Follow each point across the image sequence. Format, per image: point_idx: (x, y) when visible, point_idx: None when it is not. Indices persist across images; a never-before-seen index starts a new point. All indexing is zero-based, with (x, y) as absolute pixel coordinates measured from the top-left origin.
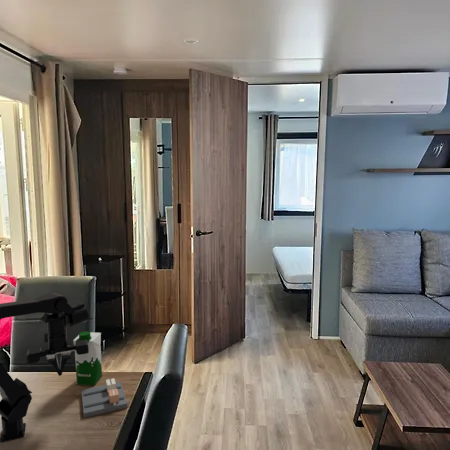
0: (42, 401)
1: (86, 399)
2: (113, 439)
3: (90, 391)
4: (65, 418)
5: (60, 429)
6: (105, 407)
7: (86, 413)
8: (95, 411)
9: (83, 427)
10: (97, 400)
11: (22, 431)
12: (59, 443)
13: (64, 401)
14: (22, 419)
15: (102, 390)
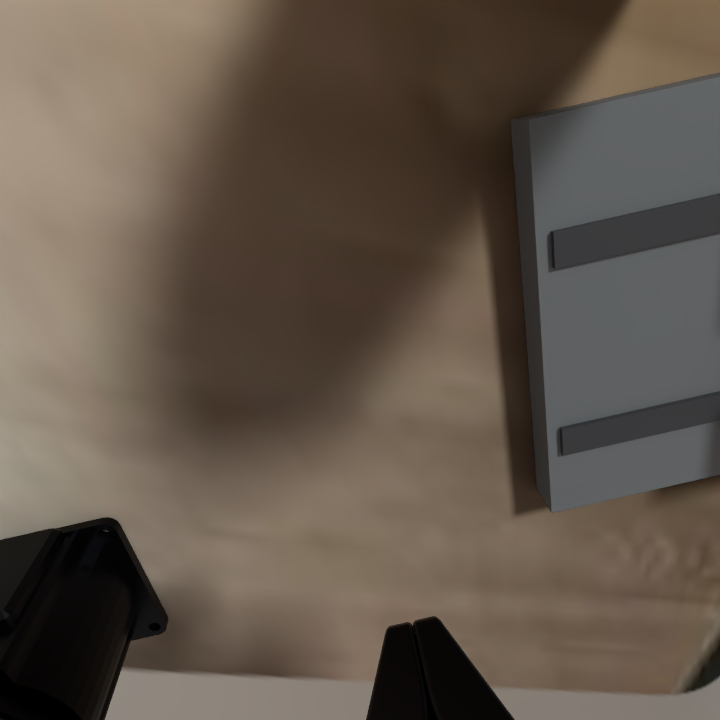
0: (105, 191)
1: (578, 328)
2: (683, 665)
3: (626, 179)
4: (404, 480)
5: (390, 578)
6: (716, 466)
7: (568, 505)
8: (634, 490)
9: (533, 574)
10: (672, 363)
11: (137, 603)
12: None
13: (349, 238)
14: (108, 670)
15: None
